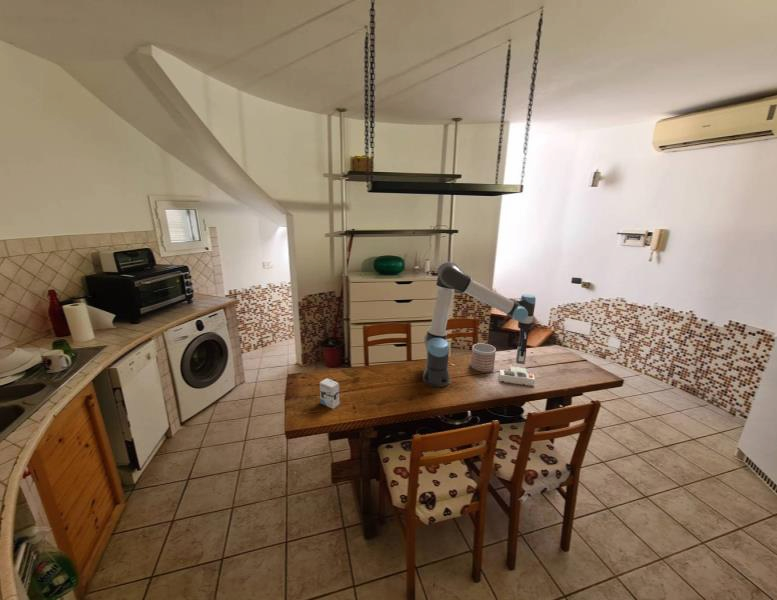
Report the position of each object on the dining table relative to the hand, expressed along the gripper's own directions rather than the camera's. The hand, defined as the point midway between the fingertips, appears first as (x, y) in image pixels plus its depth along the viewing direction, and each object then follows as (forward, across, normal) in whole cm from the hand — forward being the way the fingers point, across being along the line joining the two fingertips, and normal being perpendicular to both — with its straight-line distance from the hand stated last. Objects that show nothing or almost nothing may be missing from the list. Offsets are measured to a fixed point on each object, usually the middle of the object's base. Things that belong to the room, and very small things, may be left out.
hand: (520, 358), depth 192 cm
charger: (+2, 0, 0) cm, 2 cm away
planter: (+8, 0, +21) cm, 23 cm away
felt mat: (+8, 0, 0) cm, 8 cm away
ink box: (+8, -63, +93) cm, 113 cm away
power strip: (+8, -12, +3) cm, 15 cm away
